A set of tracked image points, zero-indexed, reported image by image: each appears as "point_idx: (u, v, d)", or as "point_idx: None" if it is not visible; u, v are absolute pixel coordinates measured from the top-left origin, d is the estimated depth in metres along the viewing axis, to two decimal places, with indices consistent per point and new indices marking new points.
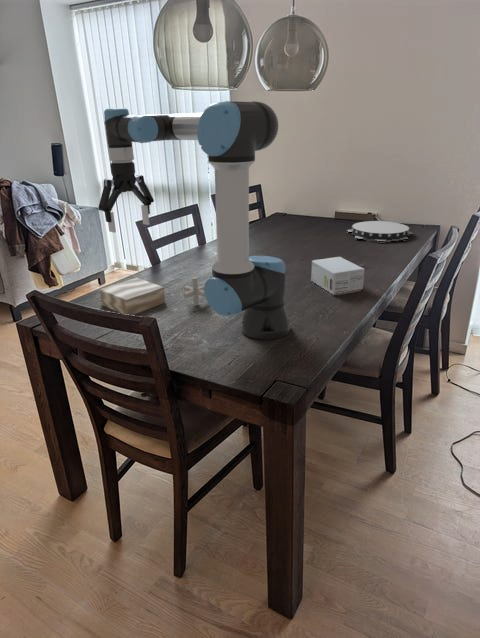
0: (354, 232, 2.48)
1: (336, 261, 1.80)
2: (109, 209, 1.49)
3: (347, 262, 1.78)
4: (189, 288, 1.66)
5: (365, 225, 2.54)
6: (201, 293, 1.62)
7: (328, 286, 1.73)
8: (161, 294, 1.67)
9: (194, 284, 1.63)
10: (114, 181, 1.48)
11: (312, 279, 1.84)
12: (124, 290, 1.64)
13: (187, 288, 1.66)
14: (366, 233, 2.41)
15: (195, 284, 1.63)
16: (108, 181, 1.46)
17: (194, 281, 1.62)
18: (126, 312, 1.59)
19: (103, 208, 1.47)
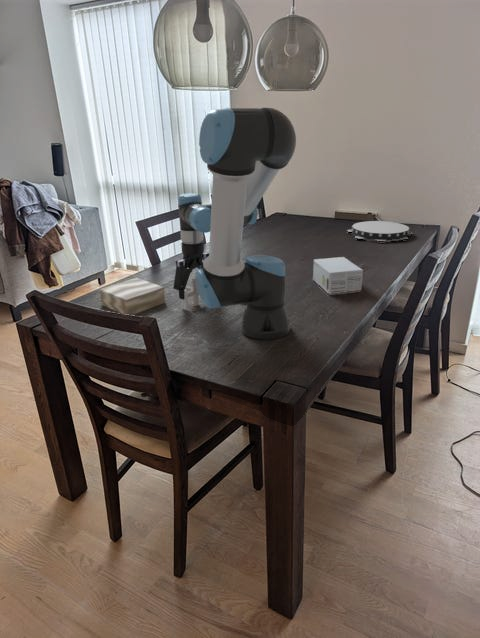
0: (354, 232, 2.48)
1: (338, 261, 1.80)
2: (183, 288, 1.59)
3: (348, 263, 1.78)
4: (189, 288, 1.66)
5: (365, 225, 2.54)
6: None
7: (325, 286, 1.73)
8: (161, 294, 1.67)
9: (194, 284, 1.63)
10: (185, 261, 1.57)
11: (313, 278, 1.85)
12: (124, 290, 1.64)
13: (187, 288, 1.66)
14: (366, 233, 2.41)
15: (195, 284, 1.63)
16: (180, 263, 1.55)
17: (194, 281, 1.62)
18: (126, 312, 1.59)
19: (178, 288, 1.57)
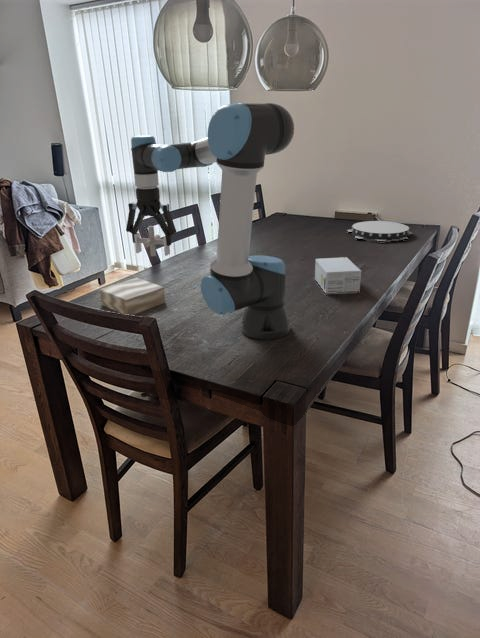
0: (354, 232, 2.48)
1: (339, 261, 1.80)
2: (132, 231, 1.59)
3: (348, 263, 1.77)
4: None
5: (365, 225, 2.54)
6: None
7: (323, 285, 1.74)
8: (161, 294, 1.67)
9: None
10: (136, 204, 1.55)
11: (315, 277, 1.86)
12: (124, 290, 1.64)
13: (154, 236, 1.62)
14: (366, 233, 2.41)
15: (149, 233, 1.58)
16: (129, 205, 1.55)
17: (148, 229, 1.57)
18: (126, 312, 1.59)
19: (127, 229, 1.59)
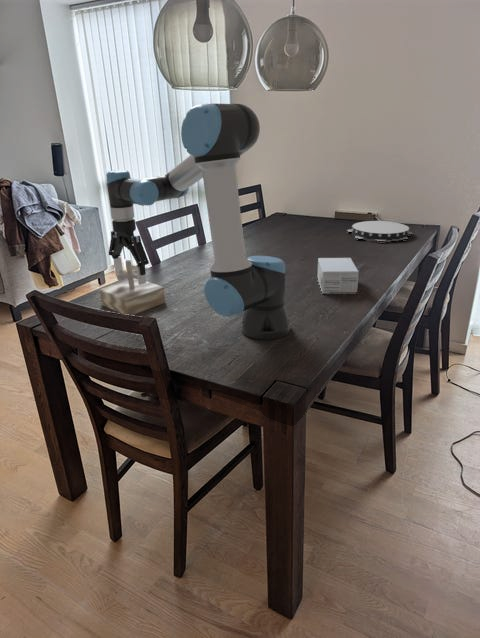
0: (354, 232, 2.48)
1: (340, 261, 1.79)
2: (112, 255, 1.66)
3: (349, 264, 1.77)
4: None
5: (365, 225, 2.54)
6: None
7: (321, 284, 1.75)
8: (161, 294, 1.67)
9: None
10: None
11: (317, 276, 1.87)
12: (124, 290, 1.64)
13: None
14: (366, 233, 2.41)
15: (126, 267, 1.63)
16: None
17: None
18: (126, 312, 1.59)
19: (109, 253, 1.67)
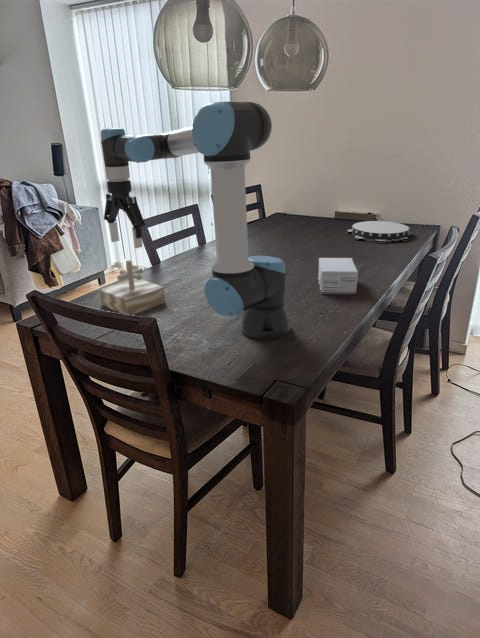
0: (354, 232, 2.48)
1: (340, 261, 1.79)
2: (107, 220, 1.61)
3: (349, 264, 1.76)
4: None
5: (365, 225, 2.54)
6: None
7: (320, 284, 1.75)
8: (161, 294, 1.67)
9: None
10: None
11: (318, 276, 1.87)
12: (124, 290, 1.64)
13: None
14: (366, 233, 2.41)
15: None
16: None
17: None
18: (126, 312, 1.59)
19: (104, 217, 1.62)
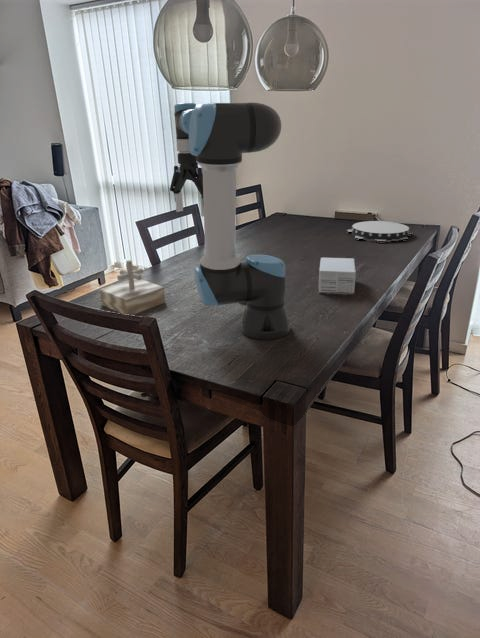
0: (354, 232, 2.48)
1: (341, 261, 1.79)
2: (174, 191, 1.72)
3: (349, 264, 1.76)
4: None
5: (365, 225, 2.54)
6: None
7: None
8: (161, 294, 1.67)
9: None
10: (179, 168, 1.67)
11: None
12: (124, 290, 1.64)
13: None
14: (366, 233, 2.41)
15: None
16: None
17: None
18: (126, 312, 1.59)
19: (170, 188, 1.73)
